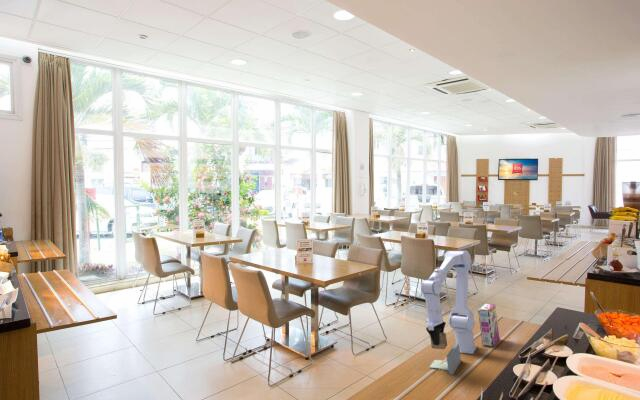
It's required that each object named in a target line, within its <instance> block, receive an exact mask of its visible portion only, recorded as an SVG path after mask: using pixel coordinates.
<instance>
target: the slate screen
mask: <svg viewBox="0 0 640 400" xmlns="http://www.w3.org/2000/svg"><path fill="white" fill-rule="evenodd" d="M446 361H447V364H448V370H447V371H448V374H449V375H450V376H451V375H452V376H453V375H454V373H455V371H456V370H457V369H458V366H460V364H461V362H462V357H461V353H460V349H459V344H456V343H454V345H453V346H452V347H451V348H450V350H449V351H448V353H447V354H446Z"/></svg>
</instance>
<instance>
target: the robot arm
mask: <svg viewBox="0 0 640 400" xmlns="http://www.w3.org/2000/svg"><path fill="white" fill-rule="evenodd" d="M471 257H472V256H471V255H470V253H469V251H468V250H466V249H465V250H447V251H446V252H445V253H444V260H443V261H442V263H441V265H440V266H439V268H435V269H434V270H433V272H432V274H431V275H430V276H429V277H428V279H426V280H424V281H422V283H421V286H420V290H421V293H422V295H423V298H424V299H425V306H426V312H427V318H426V319H425V323H427V327H426V332H427V333H428V335H429V337H430V336H431V338H430V340H431V339H432V342H433V344H434V345H439V342H440V340H439V336H440V333H445V332H444V331H445V327H446V324H447V323H446V322H445V321H444V318H443V317H444V316H443V314H442V307H441V298H440V294H441V292H442V287H443V284H444V282H445V281H446V279H447V278H448V274H447V273H449V272H450V271H451V269H452V270H454V271H455V272H456V281H455V286H456V287H455V306H454V307H453V308H452V309H451V310H450V313H449V316H448V324H449V326H450V327H451V328H452V331H454V332H453V333H454V338H455V344H459V349H460V354H461V353H462V354H472V355H473V354H474V353H475V351H476V349H477V347H478V345H477V344H475V339H474V338H475V336H474V332H473V330H474V328H475V324H476V322H475V321H476V320H475V315H474V313H473V312H472V311H471V310H470V309H469V307H468V306H469V305H468V304H469V301H468V300H469V270H471V269H472V268H471V266H472V258H471Z"/></svg>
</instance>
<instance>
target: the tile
mask: <svg viewBox="0 0 640 400" xmlns="http://www.w3.org/2000/svg"><path fill="white" fill-rule="evenodd" d="M442 361H443V359H442V360H441V359H440V360H439V359H434V360H433V361H432V363H431V364H430V366H429V369H432V370H433V368H438V369H437V370H440V369H441V370H440V371H448V364H447V360H445V361H446V362H444V363H443V364H441V365H439V364H440V363H441V362H442ZM438 365H439V366H438ZM437 366H438V367H437Z"/></svg>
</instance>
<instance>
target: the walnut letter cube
mask: <svg viewBox="0 0 640 400" xmlns="http://www.w3.org/2000/svg"><path fill="white" fill-rule="evenodd" d="M429 338H430V344H431V349H434V350H445V349H446V348H447V346H448V340H447V333H446V332H444V333H440V336H439V340H440V342H439V345H434V344H433V342H432V339H431V336H430V335H429Z"/></svg>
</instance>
